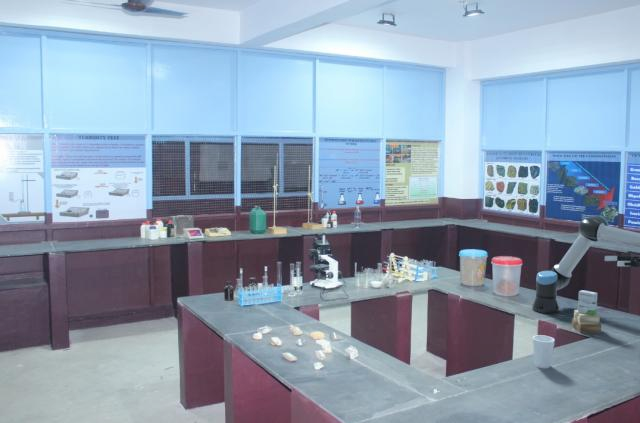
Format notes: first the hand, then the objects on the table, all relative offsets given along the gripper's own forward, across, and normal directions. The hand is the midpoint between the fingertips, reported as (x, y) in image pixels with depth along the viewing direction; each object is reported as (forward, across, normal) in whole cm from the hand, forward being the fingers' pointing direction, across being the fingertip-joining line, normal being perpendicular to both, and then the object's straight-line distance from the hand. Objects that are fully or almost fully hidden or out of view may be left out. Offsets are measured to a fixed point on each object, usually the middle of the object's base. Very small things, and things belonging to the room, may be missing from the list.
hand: (611, 260), depth 307 cm
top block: (+13, -2, -33) cm, 36 cm away
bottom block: (+12, -2, -38) cm, 40 cm away
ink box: (+12, -2, -29) cm, 31 cm away
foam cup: (+56, -51, -38) cm, 85 cm away
